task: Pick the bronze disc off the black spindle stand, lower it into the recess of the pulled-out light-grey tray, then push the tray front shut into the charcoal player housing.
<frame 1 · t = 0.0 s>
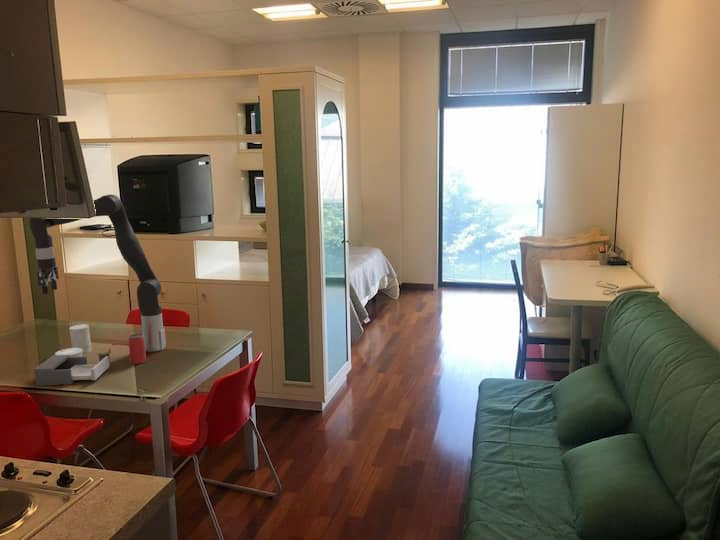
hand: (50, 291, 272), 29 cm above the table, fingers open, 8 cm apart
beer can: (138, 362, 263), on the table
disc: (103, 353, 260), point 5 cm above the table, touching stand
tray: (84, 368, 246), point 4 cm above the table, slide at 8.0 cm
stand: (105, 364, 261), on the table
ramekin: (70, 363, 264), on the table
cup: (82, 351, 279), on the table
housing: (63, 377, 247), on the table
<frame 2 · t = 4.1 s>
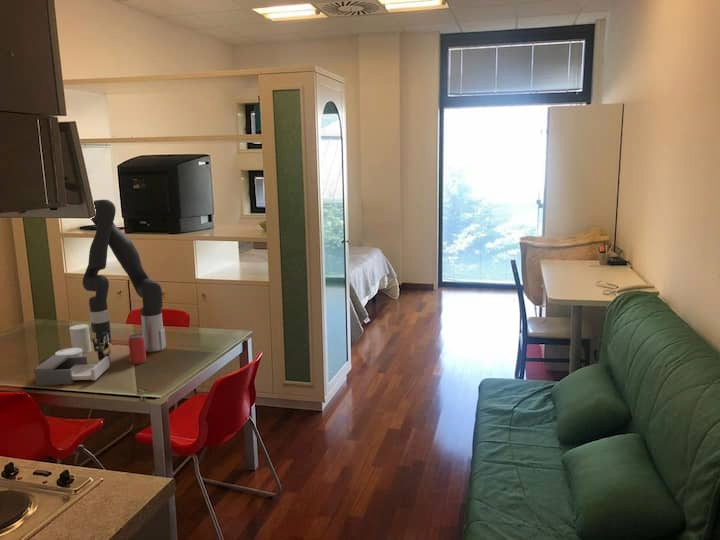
hand: (104, 356, 260), 4 cm above the table, fingers closed on disc, 6 cm apart
disc: (103, 353, 260), point 5 cm above the table, touching gripper, stand
everything else where it was.
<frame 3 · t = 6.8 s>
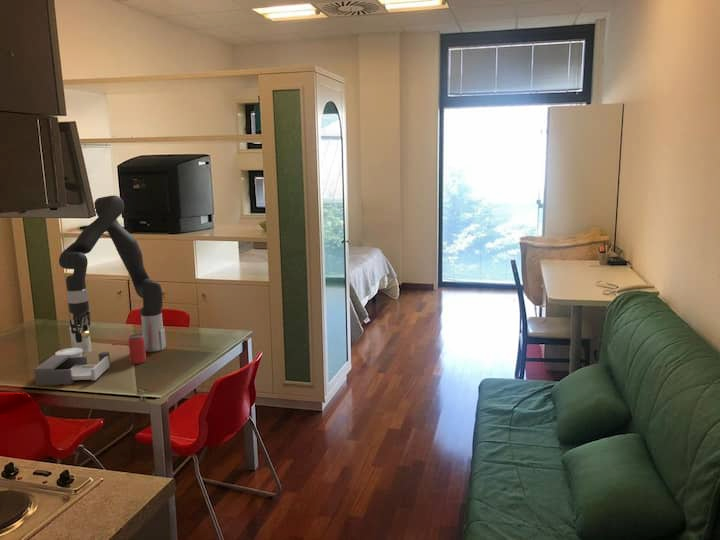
hand: (82, 339, 244), 16 cm above the table, fingers closed on disc, 6 cm apart
disc: (81, 336, 243), point 18 cm above the table, touching gripper
everything else where it was.
when the fingers open (3 cm above the table, at t = 9.6 s): disc drops 2 cm, resting on tray.
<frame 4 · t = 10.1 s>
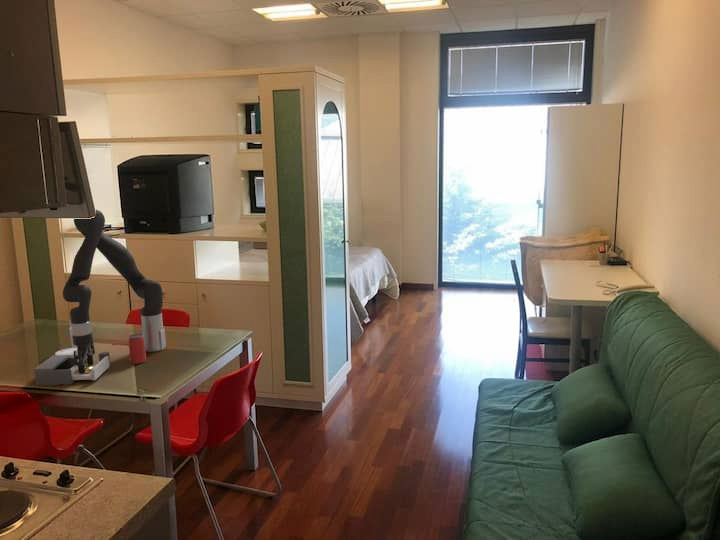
hand: (86, 369, 246), 3 cm above the table, fingers open, 8 cm apart
disc: (86, 371, 246), point 2 cm above the table, touching tray
tray: (84, 368, 246), point 4 cm above the table, slide at 8.0 cm, touching disc
everything else where it was.
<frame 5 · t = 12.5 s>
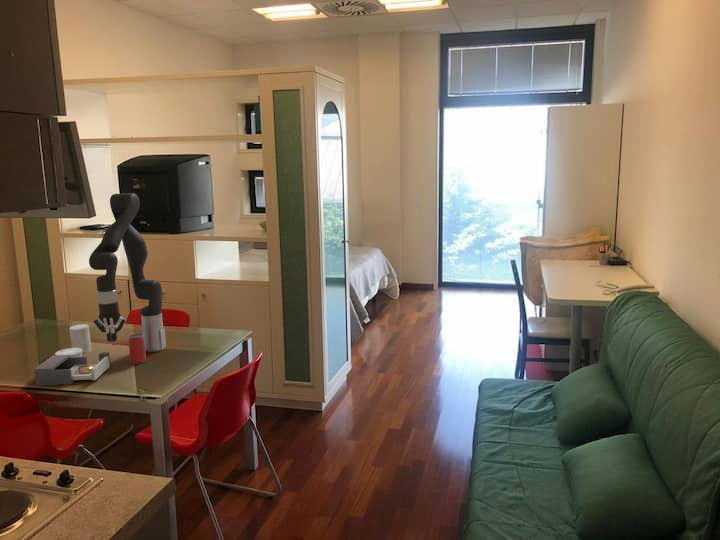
hand: (112, 341, 244), 15 cm above the table, fingers closed
nothing on the table moved.
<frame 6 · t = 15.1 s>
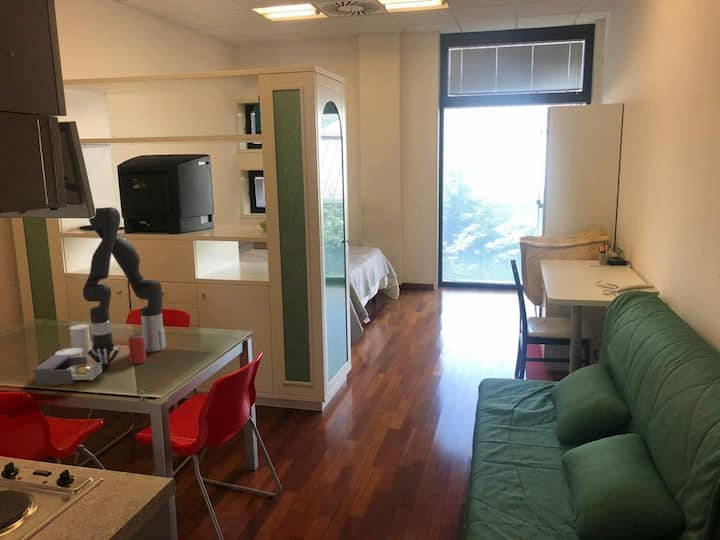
hand: (106, 371, 247), 2 cm above the table, fingers closed
disc: (83, 371, 246), point 2 cm above the table, touching tray
tray: (82, 368, 246), point 4 cm above the table, slide at 6.8 cm, touching disc, gripper
everything else where it was.
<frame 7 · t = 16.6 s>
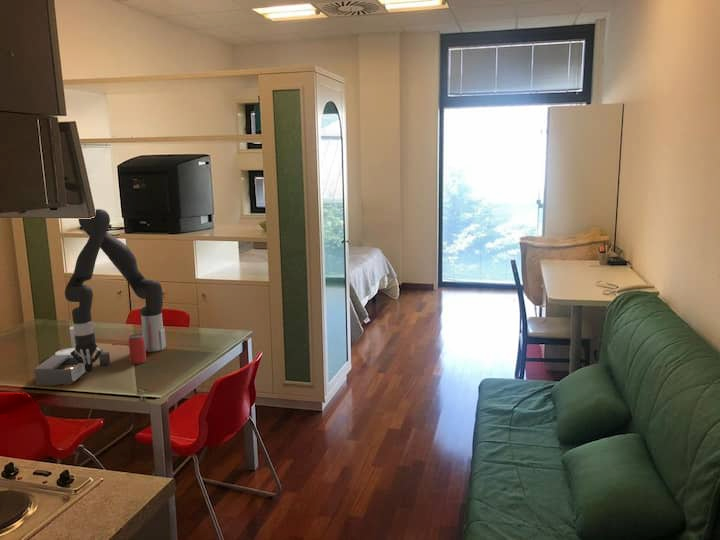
hand: (89, 371, 246), 2 cm above the table, fingers closed
disc: (66, 372, 246), point 2 cm above the table, touching tray
tray: (65, 369, 246), point 4 cm above the table, slide at -0.1 cm, touching disc, gripper
everything else where it was.
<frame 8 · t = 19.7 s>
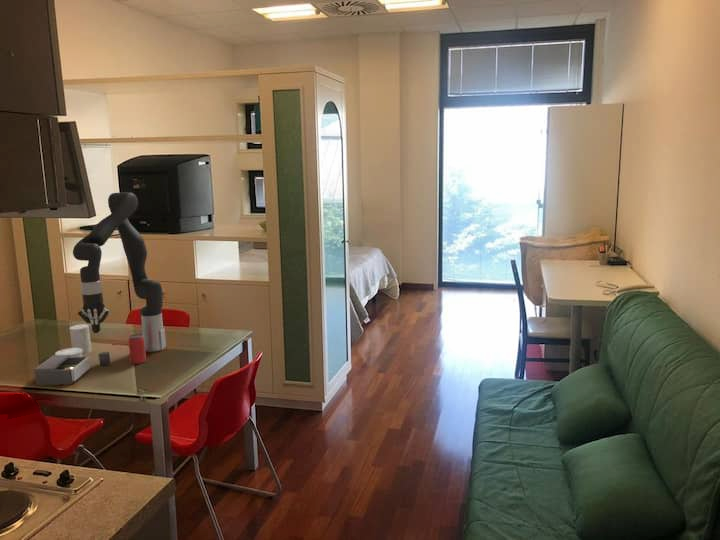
hand: (96, 332, 243), 19 cm above the table, fingers closed
tray: (65, 369, 246), point 4 cm above the table, slide at 0.0 cm, touching disc
everything else where it was.
at the end: tray slide at 0.0 cm; disc inside the target area on the housing (1.9 cm from its centre), point 2.1 cm above the housing's base; the gripper is holding nothing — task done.
